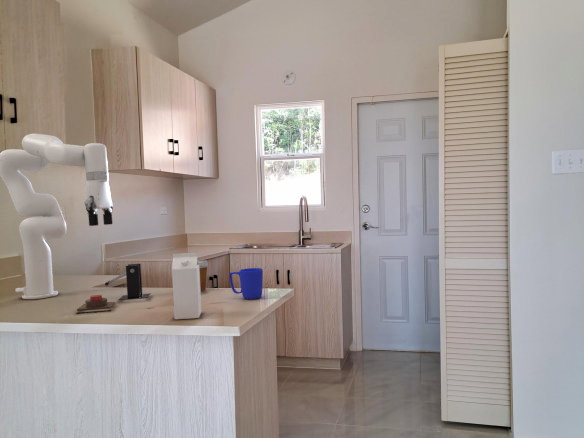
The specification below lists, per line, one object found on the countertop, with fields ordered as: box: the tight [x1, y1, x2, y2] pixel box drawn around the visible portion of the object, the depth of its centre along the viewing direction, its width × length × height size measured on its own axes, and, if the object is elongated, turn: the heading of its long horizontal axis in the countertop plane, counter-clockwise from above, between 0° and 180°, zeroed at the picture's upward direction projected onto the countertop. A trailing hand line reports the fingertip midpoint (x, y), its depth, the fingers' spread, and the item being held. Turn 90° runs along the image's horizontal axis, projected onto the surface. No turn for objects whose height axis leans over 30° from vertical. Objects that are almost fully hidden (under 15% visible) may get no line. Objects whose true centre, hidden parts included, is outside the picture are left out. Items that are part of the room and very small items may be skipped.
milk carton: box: [171, 252, 202, 320], centre depth 140 cm, size 7×7×19 cm
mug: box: [228, 267, 264, 300], centre depth 164 cm, size 8×12×10 cm
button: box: [89, 294, 103, 301], centre depth 155 cm, size 4×4×2 cm
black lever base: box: [118, 263, 151, 301], centre depth 170 cm, size 10×8×13 cm
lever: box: [104, 271, 126, 287], centre depth 170 cm, size 12×5×2 cm, turn 99°
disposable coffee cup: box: [198, 259, 209, 292], centre depth 178 cm, size 10×10×12 cm
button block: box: [76, 297, 116, 315], centre depth 155 cm, size 10×8×4 cm
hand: (101, 225), depth 169 cm, fingers open, 9 cm apart
